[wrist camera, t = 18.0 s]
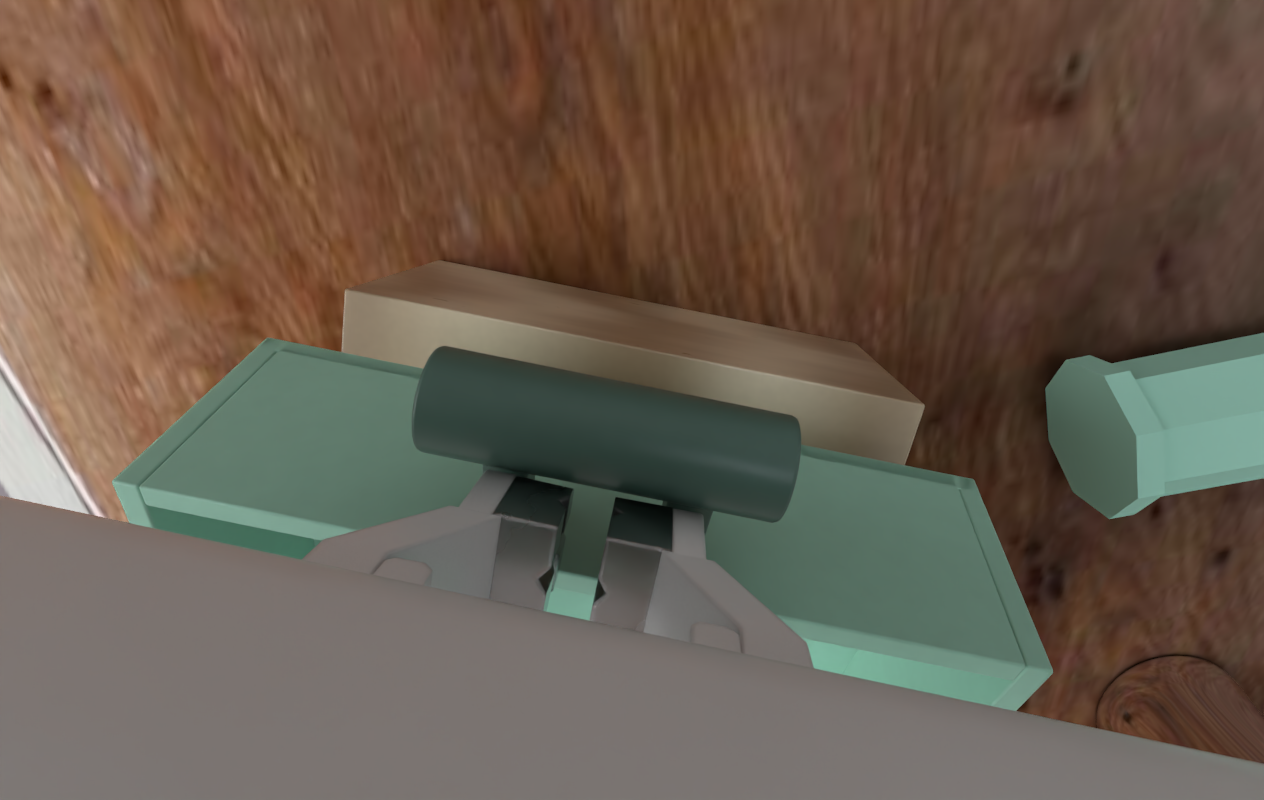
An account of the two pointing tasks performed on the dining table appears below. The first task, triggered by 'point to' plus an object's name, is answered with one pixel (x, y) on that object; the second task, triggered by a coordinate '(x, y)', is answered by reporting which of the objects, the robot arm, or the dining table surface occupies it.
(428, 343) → the riser
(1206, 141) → the dining table surface
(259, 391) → the green drawer
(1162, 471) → the container
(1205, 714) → the beer glass
